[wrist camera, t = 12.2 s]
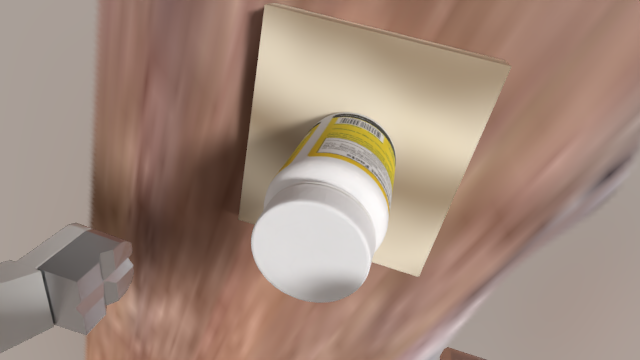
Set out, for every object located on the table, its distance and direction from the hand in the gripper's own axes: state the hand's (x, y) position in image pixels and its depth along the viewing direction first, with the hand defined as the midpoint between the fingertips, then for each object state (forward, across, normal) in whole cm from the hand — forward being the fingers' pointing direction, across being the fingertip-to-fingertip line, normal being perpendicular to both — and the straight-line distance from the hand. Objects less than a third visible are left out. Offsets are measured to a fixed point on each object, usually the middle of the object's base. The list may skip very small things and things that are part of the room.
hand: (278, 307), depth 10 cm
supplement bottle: (+11, 0, +1) cm, 11 cm away
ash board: (+13, 0, +1) cm, 13 cm away
